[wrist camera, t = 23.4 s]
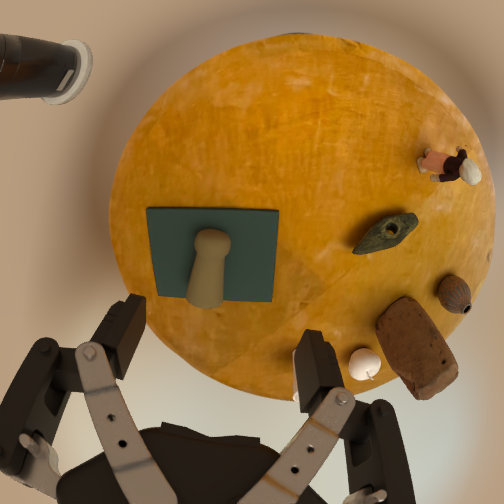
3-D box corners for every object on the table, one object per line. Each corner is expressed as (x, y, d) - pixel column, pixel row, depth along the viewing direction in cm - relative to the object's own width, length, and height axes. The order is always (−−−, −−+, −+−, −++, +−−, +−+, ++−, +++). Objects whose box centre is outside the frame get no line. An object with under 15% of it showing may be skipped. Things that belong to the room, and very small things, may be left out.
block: (410, 287, 46) (460, 361, 28) (421, 308, 48) (465, 377, 30) (366, 320, 49) (401, 401, 32) (381, 338, 52) (413, 412, 34)
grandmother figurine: (423, 183, 37) (471, 207, 26) (409, 169, 36) (457, 190, 25) (444, 147, 34) (495, 163, 23) (431, 133, 33) (482, 143, 22)
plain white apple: (377, 355, 54) (387, 381, 47) (349, 367, 56) (357, 394, 49) (371, 337, 52) (383, 365, 44) (341, 351, 53) (349, 379, 46)
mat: (159, 292, 47) (158, 295, 46) (148, 207, 40) (145, 209, 39) (271, 298, 47) (271, 302, 46) (278, 209, 40) (279, 212, 39)
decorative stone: (382, 188, 38) (397, 197, 33) (413, 213, 39) (428, 224, 35) (344, 245, 42) (353, 260, 38) (376, 265, 44) (387, 280, 39)
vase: (434, 303, 48) (453, 329, 40) (432, 279, 45) (454, 305, 37) (457, 289, 46) (478, 313, 38) (457, 265, 44) (480, 288, 36)
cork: (222, 288, 46) (233, 227, 41) (224, 310, 40) (238, 243, 36) (186, 284, 44) (194, 222, 40) (184, 306, 39) (192, 237, 35)
